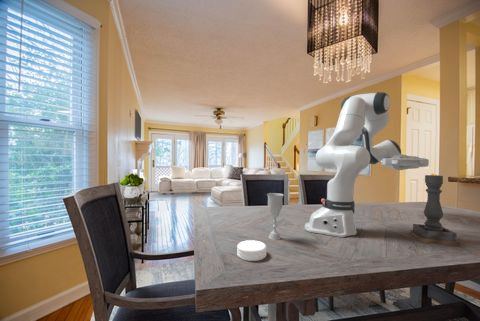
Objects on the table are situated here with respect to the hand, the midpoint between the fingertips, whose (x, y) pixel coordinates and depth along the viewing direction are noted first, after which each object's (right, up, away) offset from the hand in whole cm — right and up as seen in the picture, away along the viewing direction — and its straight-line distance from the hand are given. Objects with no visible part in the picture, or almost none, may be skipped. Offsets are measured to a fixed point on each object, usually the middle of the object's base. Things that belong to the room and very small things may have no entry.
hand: (409, 162), depth 112 cm
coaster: (-81, -32, -36) cm, 94 cm away
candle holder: (-4, -31, -18) cm, 36 cm away
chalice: (-71, -31, -19) cm, 80 cm away
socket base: (-4, -32, -19) cm, 37 cm away
